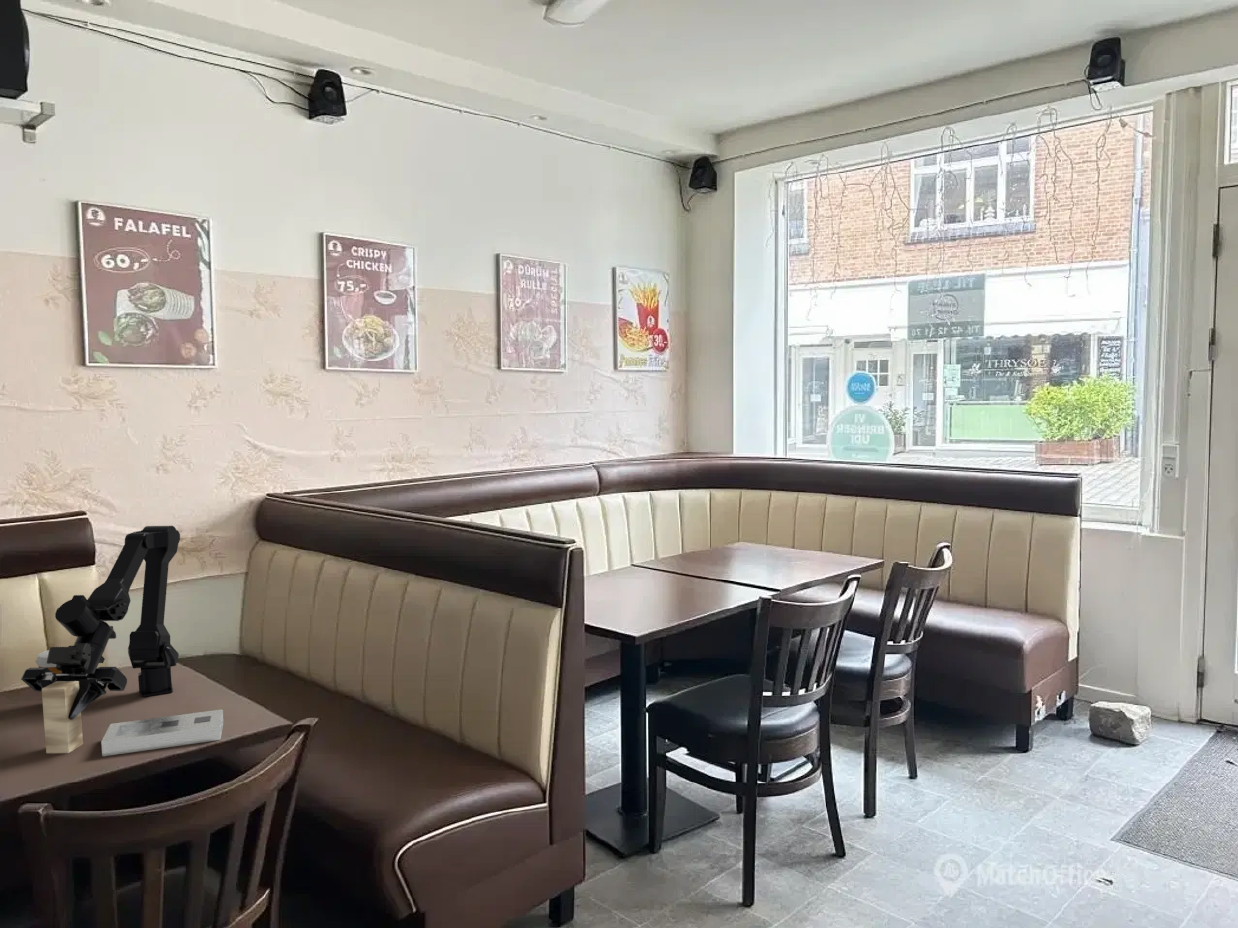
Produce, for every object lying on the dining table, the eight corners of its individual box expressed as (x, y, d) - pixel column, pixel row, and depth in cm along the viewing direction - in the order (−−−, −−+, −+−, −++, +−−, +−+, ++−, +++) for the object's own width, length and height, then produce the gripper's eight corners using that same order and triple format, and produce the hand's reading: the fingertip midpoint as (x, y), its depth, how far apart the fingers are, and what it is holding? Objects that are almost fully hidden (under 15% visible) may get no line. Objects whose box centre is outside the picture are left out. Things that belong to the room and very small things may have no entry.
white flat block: (223, 722, 189) (222, 708, 189) (220, 739, 180) (219, 724, 180) (111, 737, 182) (110, 723, 182) (102, 756, 172) (101, 740, 172)
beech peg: (61, 744, 179) (56, 681, 178) (83, 743, 179) (78, 680, 178) (46, 753, 175) (41, 688, 174) (68, 752, 174) (64, 688, 173)
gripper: (24, 628, 179) (-12, 701, 169) (115, 627, 179) (84, 700, 168) (52, 655, 187) (19, 725, 177) (139, 654, 187) (112, 725, 177)
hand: (58, 718), depth 175 cm, fingers closed on beech peg, 4 cm apart
